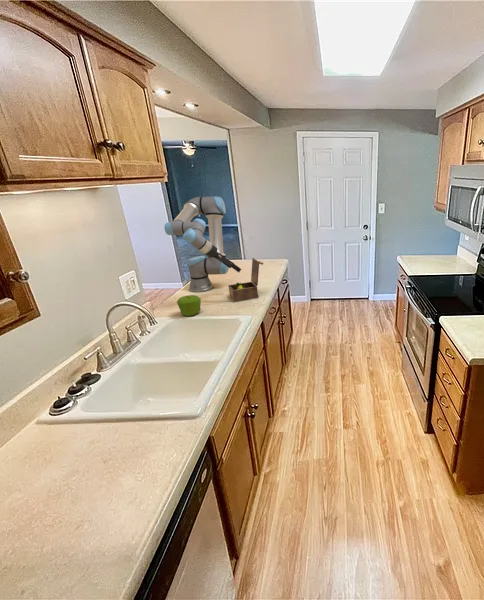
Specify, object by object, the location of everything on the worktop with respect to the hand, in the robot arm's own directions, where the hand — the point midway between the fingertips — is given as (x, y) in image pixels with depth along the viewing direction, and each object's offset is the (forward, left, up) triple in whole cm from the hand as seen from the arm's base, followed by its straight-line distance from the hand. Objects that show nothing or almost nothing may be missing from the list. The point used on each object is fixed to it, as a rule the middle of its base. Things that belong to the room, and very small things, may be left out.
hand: (235, 268), depth 214 cm
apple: (+15, -31, -20) cm, 40 cm away
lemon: (0, +2, -19) cm, 19 cm away
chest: (+1, +3, -20) cm, 20 cm away
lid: (+1, +12, -3) cm, 12 cm away
